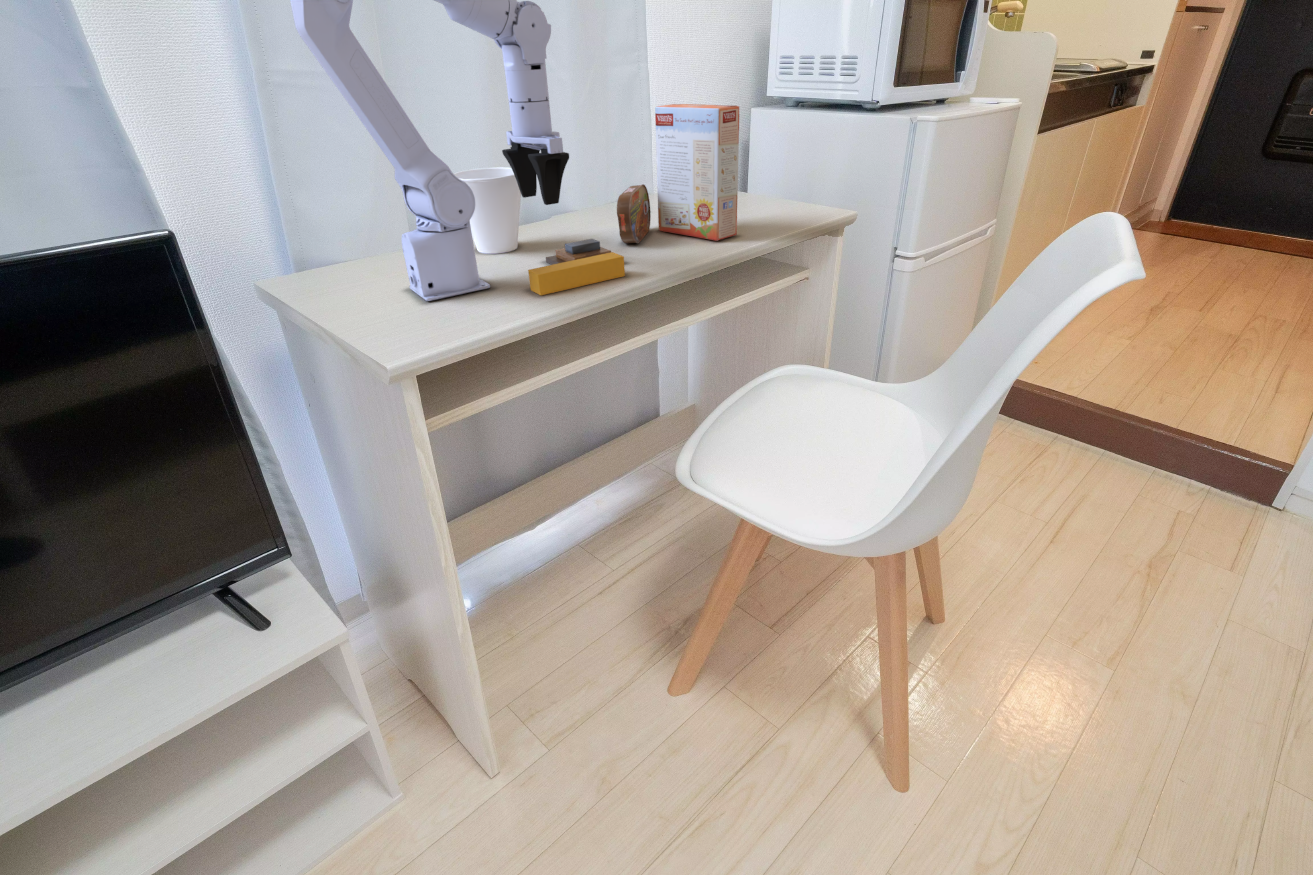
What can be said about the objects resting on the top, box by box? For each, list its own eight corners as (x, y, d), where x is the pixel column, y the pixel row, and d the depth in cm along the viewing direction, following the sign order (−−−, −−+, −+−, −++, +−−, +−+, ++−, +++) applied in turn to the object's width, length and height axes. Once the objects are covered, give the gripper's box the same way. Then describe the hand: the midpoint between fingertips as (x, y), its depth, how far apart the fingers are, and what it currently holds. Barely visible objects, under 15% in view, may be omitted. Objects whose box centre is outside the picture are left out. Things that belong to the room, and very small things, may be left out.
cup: (483, 238, 127) (472, 166, 121) (543, 241, 124) (534, 167, 118) (449, 256, 117) (435, 178, 111) (513, 259, 114) (502, 179, 108)
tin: (634, 249, 117) (631, 197, 113) (616, 248, 118) (613, 197, 113) (652, 228, 130) (650, 180, 126) (636, 227, 130) (633, 180, 126)
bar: (540, 295, 97) (537, 274, 95) (530, 290, 99) (527, 269, 98) (625, 276, 103) (624, 256, 102) (613, 271, 106) (612, 251, 104)
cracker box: (738, 235, 122) (741, 104, 112) (716, 242, 119) (718, 107, 108) (679, 225, 131) (677, 102, 121) (657, 231, 127) (653, 105, 117)
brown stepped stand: (572, 274, 105) (570, 253, 104) (545, 262, 112) (543, 242, 110) (622, 263, 110) (621, 243, 108) (594, 252, 116) (592, 232, 114)
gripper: (578, 101, 95) (586, 203, 102) (532, 97, 106) (542, 190, 113) (531, 105, 92) (543, 210, 99) (488, 100, 103) (501, 196, 109)
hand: (540, 200), depth 106 cm, fingers open, 7 cm apart
